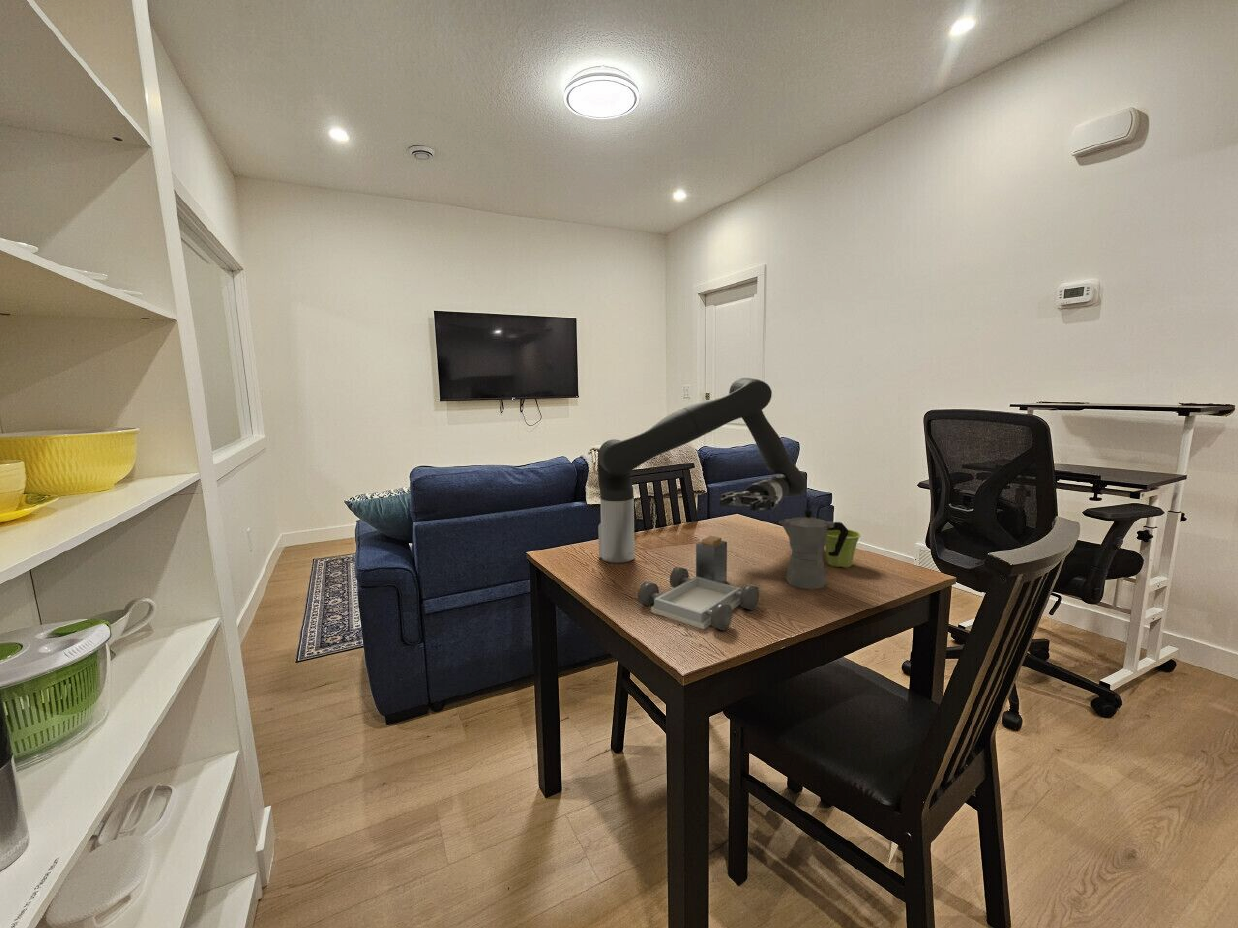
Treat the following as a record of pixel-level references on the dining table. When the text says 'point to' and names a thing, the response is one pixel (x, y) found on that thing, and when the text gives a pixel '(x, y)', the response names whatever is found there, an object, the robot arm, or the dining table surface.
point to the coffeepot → (810, 549)
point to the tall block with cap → (712, 559)
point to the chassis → (698, 600)
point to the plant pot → (846, 550)
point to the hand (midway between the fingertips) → (736, 505)
